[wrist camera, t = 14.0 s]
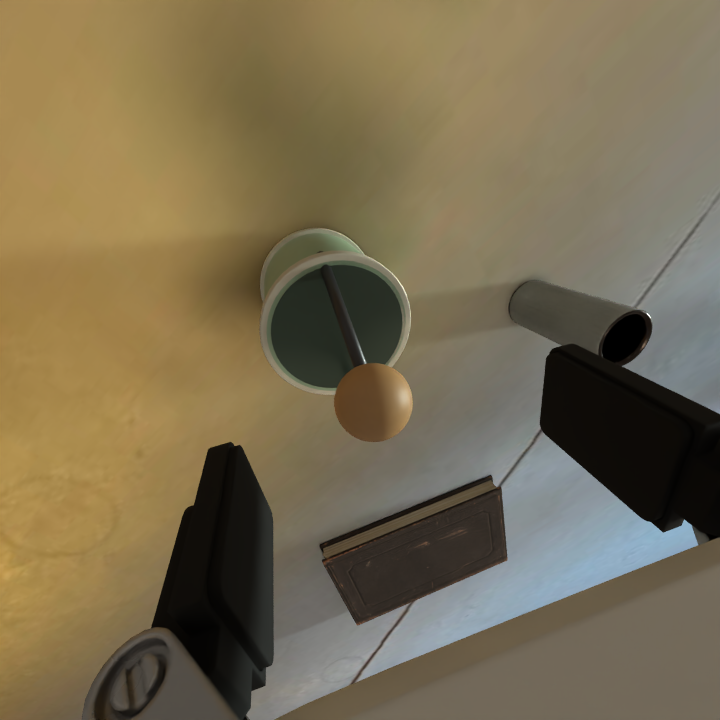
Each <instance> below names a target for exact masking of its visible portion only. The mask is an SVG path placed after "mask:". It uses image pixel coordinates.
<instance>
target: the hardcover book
mask: <svg viewBox="0 0 720 720" xmlns="http://www.w3.org/2000/svg"><path fill="white" fill-rule="evenodd" d="M320 548H321V549H322V551H323V556H324V557H325V559H323V560H322V562H323V564H324V566H325V568H326V569H327V571H328V573H329V575H330V577H331V579H332V580H333V582H334V584H335V586H336V588H337V590H338V591H339V593H340V595H341V597H342V599H343V601H344V602H345V604H346V606H347V608H348V610H349V612H350V613H351V615H352V617H353V619H354V621H355V623H356V624H357V625H360V624H362V623H365V622H367V621H369V620H371V619H374V618H376V617H378V616H381V615H383V614H385V613H387V612H390V611H392V610H394V609H397V608H399V607H401V606H404V605H406V604H408V603H410V602H413V601H415V600H417V599H420V598H422V597H424V596H426V595H429V594H431V593H433V592H436V591H438V590H440V589H442V588H445V587H447V586H449V585H452V584H454V583H456V582H459V581H461V580H463V579H465V578H468V577H470V576H472V575H475V574H477V573H479V572H481V571H484V570H486V569H488V568H491V567H493V566H495V565H498V564H500V563H502V562H504V561H507V548H506V536H505V524H504V513H503V501H502V489H501V487H498V488H497V487H496V486H495V485H494V484H493V479H492V476H488V477H486V478H483V479H481V480H478V481H476V482H473V483H471V484H469V485H466V486H464V487H461V488H459V489H456V490H454V491H451V492H449V493H447V494H444V495H442V496H439V497H437V498H434V499H432V500H429V501H427V502H424V503H422V504H420V505H417V506H415V507H412V508H410V509H407V510H405V511H402V512H400V513H397V514H395V515H393V516H390V517H388V518H385V519H383V520H380V521H378V522H375V523H373V524H370V525H368V526H366V527H363V528H361V529H358V530H356V531H353V532H351V533H348V534H346V535H343V536H341V537H339V538H336V539H334V540H331V541H329V542H326V543H324V544H321V545H320Z"/></svg>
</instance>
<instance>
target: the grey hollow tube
mask: <svg viewBox="0 0 720 720" xmlns="http://www.w3.org/2000/svg"><path fill="white" fill-rule="evenodd" d="M510 315H511V318H512V319H513V320H514V321H515V322H516V323H518V324H519V325H521V326H523V327H525V328H527V329H529V330H531V331H533V332H536V333H538V334H540V335H542V336H544V337H546V338H548V339H550V340H552V341H554V342H556V343H558V344H560V345H562V346H563V345H567V344H572V343H573V344H576V345H578V346H580V347H583V348H585V349H587V350H589V351H591V352H593V353H595V354H597V355H599V356H601V357H603V358H605V359H607V360H609V361H611V362H613V363H615V364H617V365H620V366H623V365H625V364H627V363H629V362H630V361H632V360H633V359H634V358H636V357H637V356H638V355H639V354H640V353H641V351H642V350H643V349H644V348H645V346H646V344H647V343H648V341H649V339H650V336H651V333H652V320H651V317H650V315H649V314H648V313H647V312H646V311H644V310H641V309H637V308H634V307H631V306H627V305H624V304H620V303H617V302H613V301H610V300H606V299H603V298H599V297H596V296H592V295H589V294H585V293H582V292H578V291H575V290H571V289H568V288H564V287H561V286H558V285H554V284H551V283H547V282H543V281H539V280H533V281H529V282H527V283H525V284H523V285H522V286H521V287H520V288H519V289H518V290H517V291H516V292H515V294H514V295H513V297H512V299H511V302H510Z"/></svg>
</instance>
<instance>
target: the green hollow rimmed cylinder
mask: <svg viewBox="0 0 720 720" xmlns="http://www.w3.org/2000/svg"><path fill="white" fill-rule="evenodd" d="M260 292H261V298H262V301H263V306H262V309H261V315H260V340H261V345H262V348H263V352H264V354H265V356H266V358H267V360H268V362H269V363H270V365H271V366H272V368H273V369H274V370H275V371H276V373H277V374H278V375H279V376H281V377H282V378H283V379H284V380H285V381H287V382H288V383H290V384H291V385H293V386H295V387H297V388H299V389H301V390H304V391H307V392H310V393H315V394H322V395H335V398H334V407H335V412H336V415H337V418H338V420H339V422H340V424H341V425H342V427H343V428H344V429H345V430H346V431H347V432H348V433H349V434H351V435H352V436H354V437H356V438H358V439H360V440H363V441H368V442H380V441H384V440H387V439H390V438H392V437H393V436H395V435H397V434H398V433H399V432H400V431H401V430H402V429H403V428H404V427H405V425H406V424H407V422H408V420H409V418H410V415H411V412H412V406H413V400H412V393H411V390H410V387H409V385H408V383H407V382H406V380H405V379H404V377H403V376H402V375H401V374H400V373H399V372H398V371H396V370H395V369H393V368H391V367H392V366H393V365H394V364H395V363H396V361H397V360H398V358H399V357H400V355H401V353H402V351H403V350H404V348H405V345H406V343H407V340H408V336H409V332H410V325H411V311H410V305H409V301H408V298H407V295H406V293H405V291H404V288H403V286H402V285H401V283H400V282H399V280H398V279H397V278H396V277H395V276H394V275H393V273H392V272H391V271H389V270H388V269H387V268H386V267H384V266H383V265H382V264H381V263H379V262H377V261H376V260H374V259H373V258H370V257H368V256H366V255H364V253H363V252H362V251H361V249H360V248H359V247H358V246H357V245H356V244H355V243H354V242H353V241H352V240H350V239H349V238H348V237H346V236H344V235H343V234H341V233H338V232H336V231H333V230H330V229H324V228H308V229H303V230H299V231H296V232H294V233H292V234H289V235H288V236H286V237H285V238H283V239H282V240H281V241H279V242H278V243H277V244H276V245H275V246H274V247H273V249H272V250H271V251H270V253H269V254H268V256H267V257H266V259H265V262H264V264H263V267H262V270H261V276H260Z"/></svg>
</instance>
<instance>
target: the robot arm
mask: <svg viewBox="0 0 720 720" xmlns="http://www.w3.org/2000/svg"><path fill="white" fill-rule="evenodd" d="M540 427H541V429H542V431H543V432H544V434H545V435H546V436H548V437H549V438H550V439H551V440H552V441H553V442H554V443H556V444H557V445H558V446H559V447H560V448H561V449H563V450H564V451H565V452H566V453H567V454H568V455H569V456H571V457H572V458H573V459H574V460H575V461H576V462H577V463H579V464H580V465H581V466H582V467H583V468H584V469H586V470H587V471H588V472H589V473H590V474H591V475H592V476H594V477H595V478H596V479H597V480H598V481H599V482H600V483H602V484H603V485H604V486H605V487H606V488H607V489H608V490H610V491H611V492H612V493H613V494H614V495H615V496H617V497H618V498H619V499H620V500H621V501H622V502H623V503H625V504H626V505H627V506H628V507H629V508H630V509H631V510H633V511H634V512H635V513H636V514H637V515H638V516H640V517H641V518H642V519H644V520H646V521H649V522H652V523H653V524H654V525H655V526H656V527H657V528H659V529H660V530H661V531H662V532H666V531H668V530H671V529H674V528H676V527H679V526H681V525H682V523H683V521H684V519H685V520H686V521H687V522H688V523H690V524H691V525H692V528H693V531H694V534H695V536H696V539H697V542H698V546H696V547H693V548H691V549H688V550H685V551H683V552H680V553H678V554H675V555H673V556H670V557H667V558H665V559H662V560H660V561H657V562H655V563H652V564H650V565H647V566H644V567H642V568H639V569H637V570H634V571H632V572H629V573H627V574H624V575H622V576H619V577H616V578H614V579H611V580H609V581H606V582H604V583H601V584H599V585H596V586H594V587H591V588H589V589H586V590H584V591H581V592H579V593H576V594H573V595H571V596H568V597H566V598H563V599H561V600H558V601H556V602H553V603H551V604H548V605H546V606H543V607H541V608H538V609H536V610H533V611H531V612H528V613H526V614H523V615H521V616H518V617H516V618H513V619H511V620H508V621H506V622H503V623H501V624H498V625H496V626H493V627H491V628H488V629H486V630H483V631H481V632H478V633H476V634H473V635H471V636H468V637H466V638H463V639H461V640H458V641H456V642H454V643H451V644H449V645H446V646H444V647H441V648H439V649H436V650H434V651H431V652H429V653H426V654H424V655H421V656H419V657H416V658H414V659H411V660H409V661H406V662H404V663H401V664H399V665H396V666H394V667H391V668H389V669H387V670H384V671H382V672H380V673H377V674H375V675H373V676H370V677H368V678H366V679H363V680H361V681H359V682H356V683H354V684H352V685H349V686H347V687H345V688H342V689H340V690H337V691H335V692H333V693H330V694H328V695H326V696H323V697H321V698H319V699H316V700H314V701H312V702H309V703H307V704H305V705H303V706H301V707H299V708H297V709H295V710H293V711H291V712H289V713H287V714H285V715H283V716H281V717H279V718H277V719H275V720H720V414H718V413H716V412H714V411H712V410H710V409H708V408H706V407H704V406H702V405H700V404H698V403H696V402H694V401H692V400H690V399H687V398H685V397H683V396H681V395H679V394H677V393H675V392H673V391H671V390H669V389H667V388H665V387H663V386H661V385H659V384H657V383H655V382H652V381H650V380H648V379H646V378H644V377H642V376H640V375H638V374H636V373H634V372H632V371H630V370H628V369H626V368H624V367H622V366H620V365H617V364H615V363H613V362H611V361H609V360H607V359H605V358H603V357H601V356H599V355H597V354H595V353H593V352H591V351H589V350H587V349H585V348H583V347H580V346H578V345H576V344H573V343H572V344H567V345H563V346H560V347H556V348H554V349H552V350H551V351H550V354H549V355H548V356H547V358H546V365H545V376H544V386H543V396H542V406H541V416H540ZM273 655H274V638H273V517H272V512H271V509H270V507H269V505H268V503H267V500H266V498H265V496H264V494H263V492H262V490H261V487H260V485H259V483H258V481H257V479H256V476H255V474H254V472H253V470H252V468H251V466H250V463H249V461H248V459H247V457H246V455H245V453H244V450H243V448H242V447H241V445H238V446H234V444H233V443H232V442H229V443H225V444H222V445H219V446H215V447H212V448H209V449H208V452H207V456H206V460H205V464H204V468H203V472H202V476H201V479H200V483H199V487H198V491H197V495H196V499H195V503H194V505H193V506H190V507H188V508H187V509H186V510H185V512H184V514H183V516H182V520H181V524H180V527H179V531H178V534H177V538H176V541H175V545H174V549H173V552H172V556H171V559H170V563H169V566H168V570H167V573H166V577H165V581H164V584H163V588H162V591H161V595H160V598H159V602H158V606H157V609H156V613H155V616H154V620H153V623H152V627H151V629H148V630H144V631H142V632H141V633H139V634H137V635H135V636H133V637H132V638H130V639H129V640H128V641H127V642H125V643H124V644H123V645H122V646H121V647H119V648H118V649H117V650H116V651H115V652H114V654H113V655H112V656H111V657H110V658H109V659H108V661H107V662H106V663H105V664H104V665H103V667H102V668H101V670H100V672H99V673H98V675H97V676H96V678H95V679H94V681H93V683H92V685H91V688H90V690H89V692H88V695H87V697H86V699H85V704H84V709H83V714H82V720H250V719H249V718H248V717H247V716H246V714H247V712H248V711H249V709H250V708H251V691H253V690H255V689H258V688H261V687H263V686H265V684H266V667H269V666H271V665H272V663H273Z"/></svg>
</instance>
